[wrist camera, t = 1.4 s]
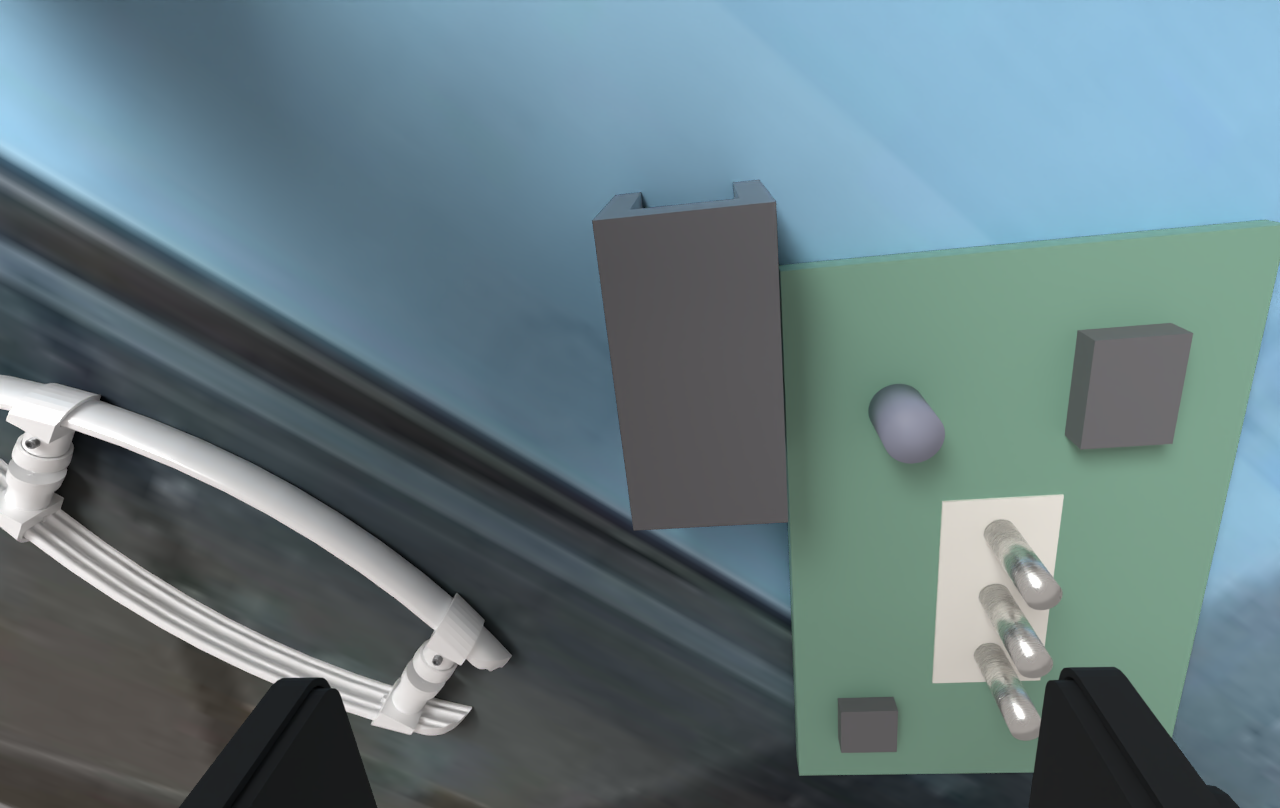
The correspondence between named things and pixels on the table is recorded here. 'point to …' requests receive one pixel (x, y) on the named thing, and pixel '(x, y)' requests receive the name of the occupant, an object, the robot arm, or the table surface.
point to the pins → (1015, 628)
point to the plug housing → (696, 357)
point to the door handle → (46, 450)
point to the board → (1005, 474)
